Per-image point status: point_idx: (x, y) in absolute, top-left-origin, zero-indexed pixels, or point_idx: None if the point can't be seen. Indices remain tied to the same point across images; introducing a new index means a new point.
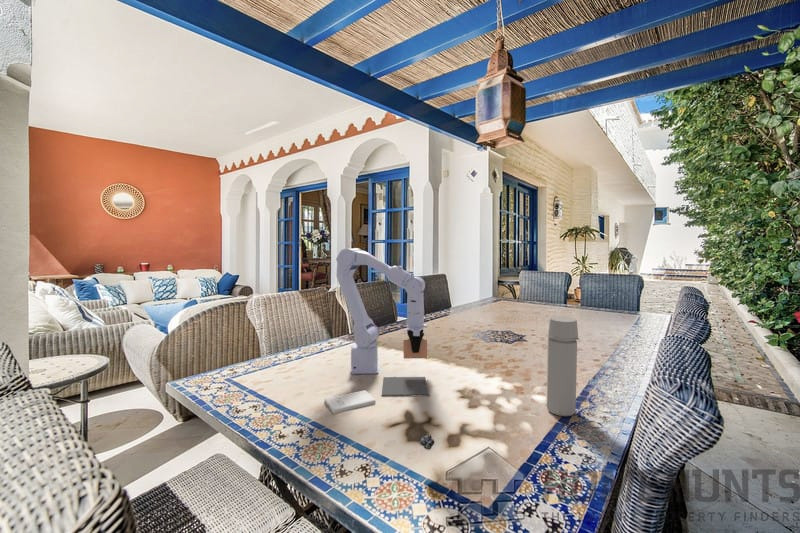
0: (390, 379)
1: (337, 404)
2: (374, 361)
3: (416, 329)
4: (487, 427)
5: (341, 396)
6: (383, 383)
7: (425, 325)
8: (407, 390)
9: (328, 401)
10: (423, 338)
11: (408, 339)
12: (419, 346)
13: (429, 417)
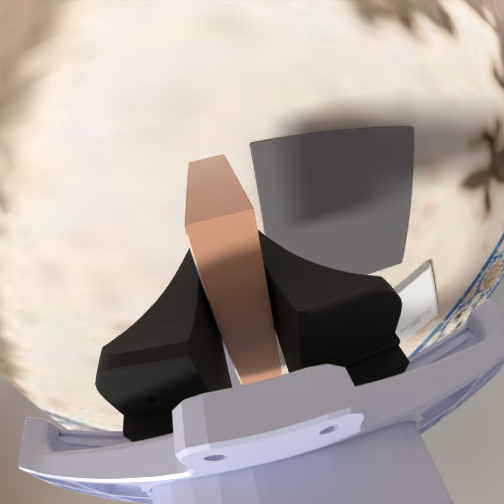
0: None
1: (425, 318)
2: (230, 368)
3: (493, 372)
4: (494, 38)
5: (399, 329)
6: None
7: (332, 433)
8: (387, 198)
9: (409, 335)
10: (206, 263)
11: (270, 367)
12: (281, 248)
13: (483, 136)
